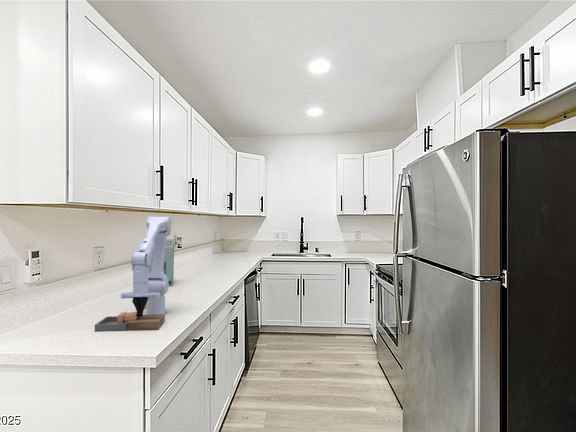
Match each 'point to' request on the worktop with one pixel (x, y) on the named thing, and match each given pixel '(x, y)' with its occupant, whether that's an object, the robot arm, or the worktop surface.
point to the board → (146, 322)
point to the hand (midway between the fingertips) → (140, 316)
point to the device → (167, 261)
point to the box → (110, 324)
